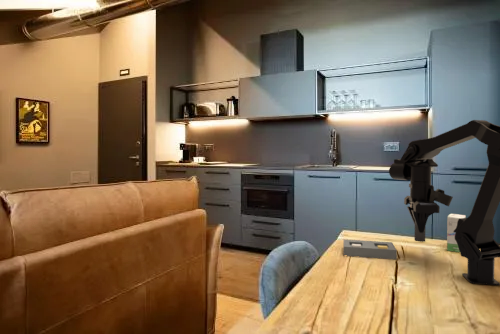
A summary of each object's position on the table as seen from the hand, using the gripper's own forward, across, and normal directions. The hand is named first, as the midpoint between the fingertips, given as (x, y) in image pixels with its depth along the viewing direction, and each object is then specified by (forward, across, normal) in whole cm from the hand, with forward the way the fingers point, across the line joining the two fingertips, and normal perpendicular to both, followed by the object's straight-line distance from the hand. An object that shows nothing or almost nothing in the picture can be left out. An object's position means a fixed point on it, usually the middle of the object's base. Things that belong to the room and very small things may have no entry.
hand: (420, 231), depth 103 cm
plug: (+3, 0, 0) cm, 3 cm away
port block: (+9, +4, +15) cm, 18 cm away
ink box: (+9, +17, -15) cm, 24 cm away
